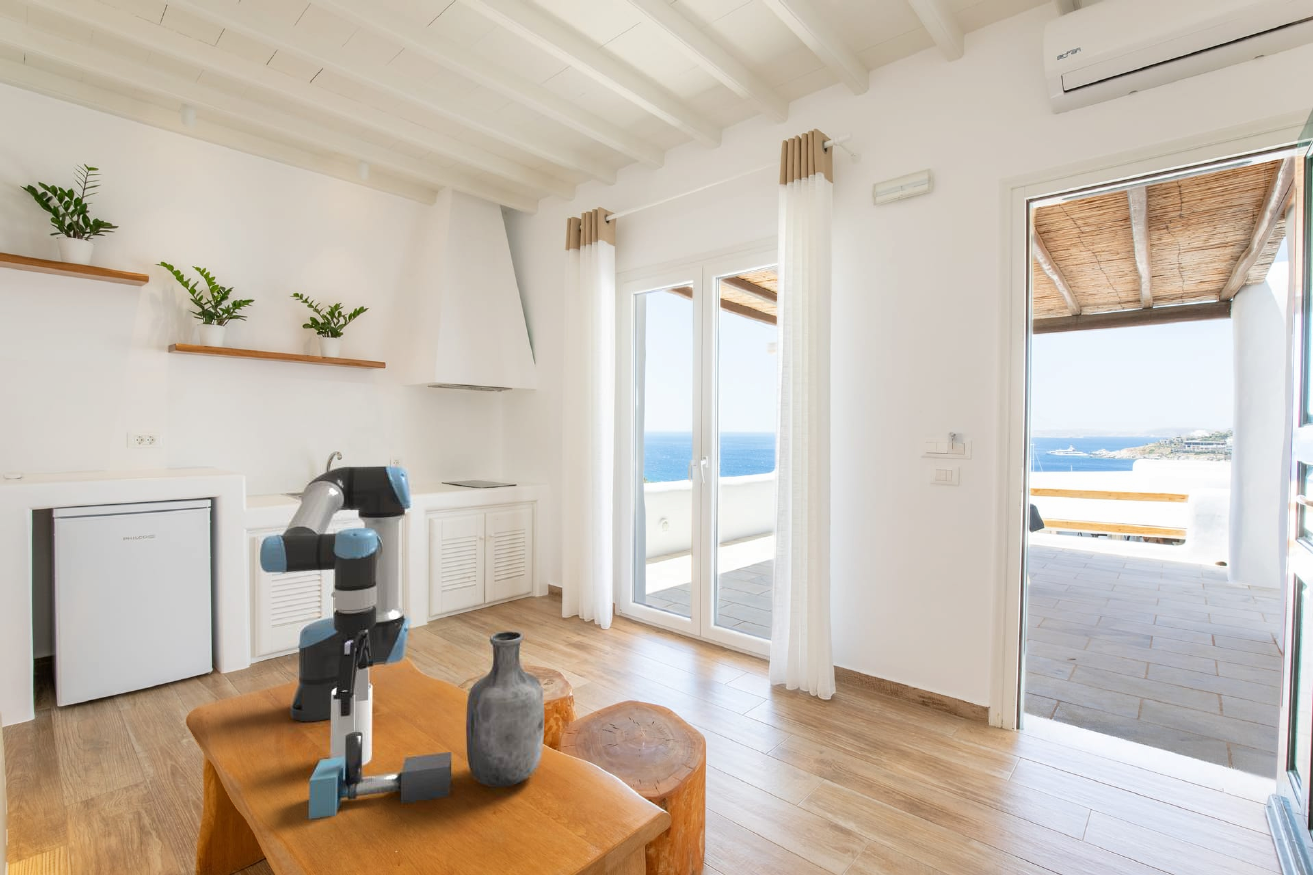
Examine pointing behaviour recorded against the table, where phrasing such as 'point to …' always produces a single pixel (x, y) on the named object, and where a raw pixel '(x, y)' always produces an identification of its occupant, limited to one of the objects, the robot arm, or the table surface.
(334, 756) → the cup
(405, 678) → the table surface
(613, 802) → the table surface
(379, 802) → the table surface
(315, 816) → the socket
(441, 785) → the block
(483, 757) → the vase
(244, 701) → the table surface
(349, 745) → the handle
